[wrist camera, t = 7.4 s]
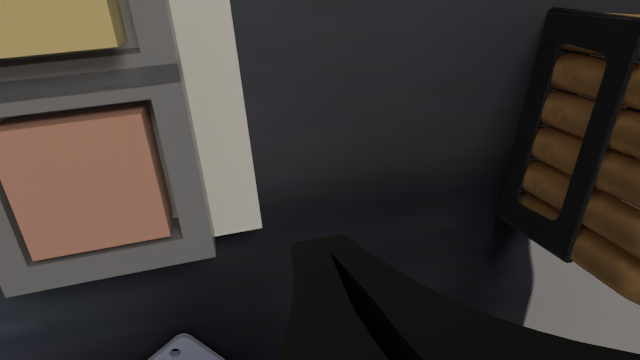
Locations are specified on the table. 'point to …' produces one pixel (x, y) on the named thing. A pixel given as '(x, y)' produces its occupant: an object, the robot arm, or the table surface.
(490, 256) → the table surface
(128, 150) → the terracotta key
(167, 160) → the button pad
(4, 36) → the ochre key
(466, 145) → the table surface
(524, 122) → the ammunition clip
